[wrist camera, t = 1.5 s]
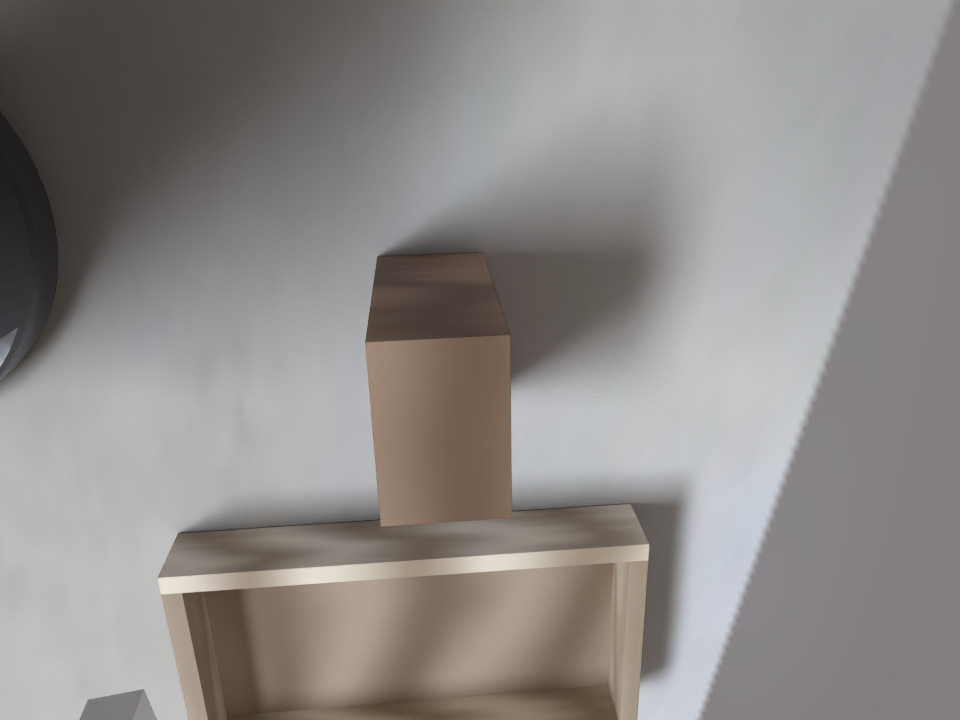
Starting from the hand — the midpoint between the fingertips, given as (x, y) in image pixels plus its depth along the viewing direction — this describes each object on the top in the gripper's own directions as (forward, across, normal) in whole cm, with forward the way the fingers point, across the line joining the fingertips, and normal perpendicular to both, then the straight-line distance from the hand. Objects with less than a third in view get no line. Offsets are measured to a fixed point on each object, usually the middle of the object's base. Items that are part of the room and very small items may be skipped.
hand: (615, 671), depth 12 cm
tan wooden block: (+21, -2, -2) cm, 21 cm away
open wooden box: (+21, -5, -16) cm, 27 cm away
